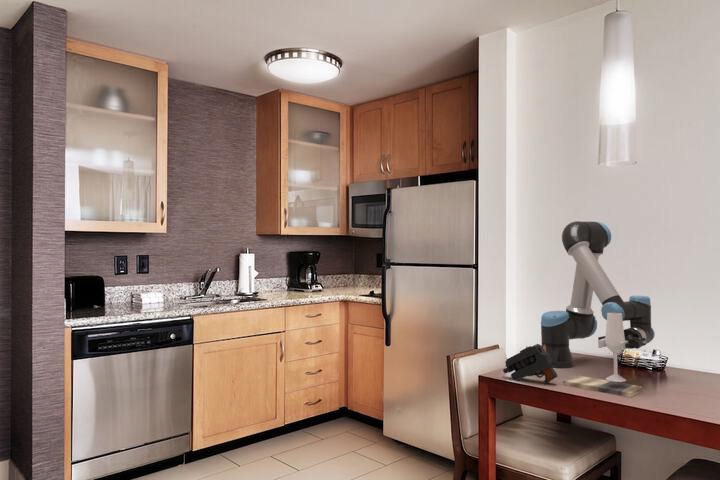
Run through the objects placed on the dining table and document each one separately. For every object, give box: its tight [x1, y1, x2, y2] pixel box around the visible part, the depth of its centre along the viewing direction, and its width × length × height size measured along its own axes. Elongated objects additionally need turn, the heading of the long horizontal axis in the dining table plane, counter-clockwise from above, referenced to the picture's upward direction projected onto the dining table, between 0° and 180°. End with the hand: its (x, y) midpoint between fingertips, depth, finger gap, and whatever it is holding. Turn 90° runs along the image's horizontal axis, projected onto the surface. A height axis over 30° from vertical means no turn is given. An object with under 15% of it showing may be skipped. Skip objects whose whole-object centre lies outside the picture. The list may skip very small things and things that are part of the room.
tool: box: [502, 343, 559, 385], centre depth 202 cm, size 6×19×15 cm
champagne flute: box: [605, 313, 627, 383], centre depth 188 cm, size 7×7×24 cm
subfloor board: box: [562, 374, 643, 398], centre depth 191 cm, size 24×12×2 cm, turn 44°
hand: (609, 345), depth 185 cm, fingers closed on champagne flute, 7 cm apart
